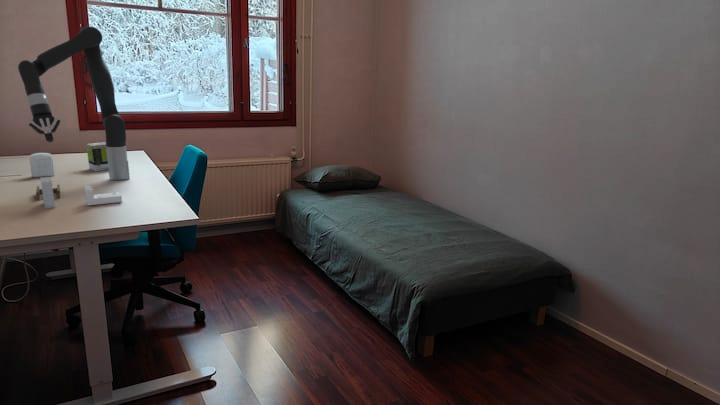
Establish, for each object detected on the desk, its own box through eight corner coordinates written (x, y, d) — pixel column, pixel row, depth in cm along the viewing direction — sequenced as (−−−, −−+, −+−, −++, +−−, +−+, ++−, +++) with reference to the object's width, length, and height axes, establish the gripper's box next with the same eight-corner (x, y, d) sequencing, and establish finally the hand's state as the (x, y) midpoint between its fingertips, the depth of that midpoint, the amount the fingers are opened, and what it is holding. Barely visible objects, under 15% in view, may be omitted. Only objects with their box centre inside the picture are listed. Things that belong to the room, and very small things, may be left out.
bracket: (87, 207, 201) (85, 189, 199) (86, 203, 207) (84, 186, 205) (122, 203, 208) (120, 186, 206) (120, 200, 213) (118, 183, 212)
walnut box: (60, 192, 224) (59, 184, 223) (60, 198, 213) (59, 190, 212) (38, 194, 219) (37, 186, 218) (37, 201, 208) (36, 192, 207)
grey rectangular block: (53, 202, 206) (50, 177, 204) (55, 207, 199) (51, 181, 196) (43, 203, 204) (40, 177, 202) (45, 208, 197) (41, 182, 194)
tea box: (116, 166, 287) (114, 141, 283) (122, 168, 280) (120, 143, 276) (88, 168, 276) (85, 143, 273) (94, 171, 269) (91, 145, 266)
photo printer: (54, 174, 259) (51, 151, 256) (55, 176, 256) (52, 152, 253) (31, 176, 254) (28, 153, 250) (31, 177, 250) (28, 154, 247)
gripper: (22, 104, 213) (33, 142, 213) (56, 100, 221) (67, 137, 221) (22, 109, 219) (33, 146, 219) (55, 106, 227) (66, 141, 227)
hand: (50, 141), depth 220 cm, fingers closed
